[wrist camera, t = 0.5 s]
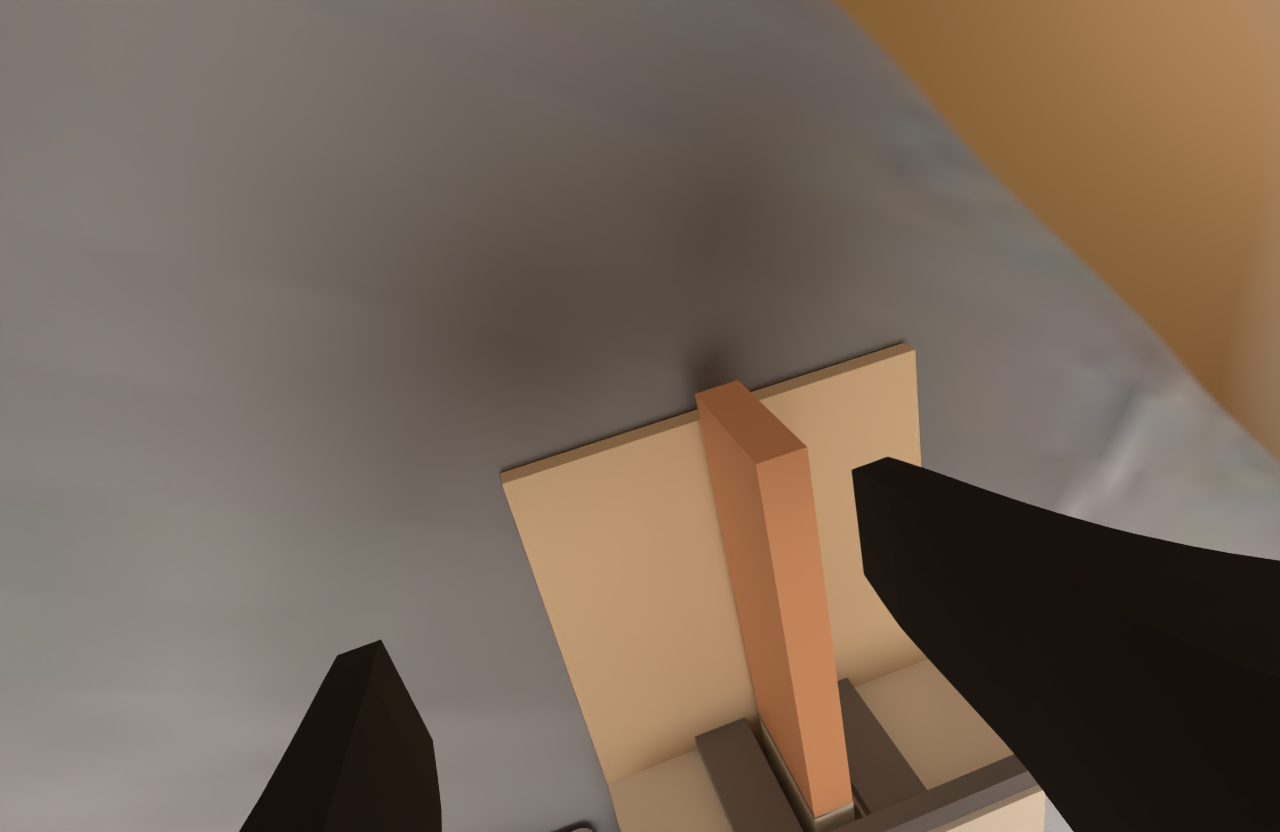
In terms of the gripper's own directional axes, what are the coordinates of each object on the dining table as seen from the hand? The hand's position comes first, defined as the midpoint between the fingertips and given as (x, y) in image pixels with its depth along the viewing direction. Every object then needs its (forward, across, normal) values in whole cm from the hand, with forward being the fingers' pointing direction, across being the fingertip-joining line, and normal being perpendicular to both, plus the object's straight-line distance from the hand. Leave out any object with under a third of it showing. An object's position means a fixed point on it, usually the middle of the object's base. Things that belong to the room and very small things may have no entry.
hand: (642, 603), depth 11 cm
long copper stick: (+9, -4, +11) cm, 15 cm away
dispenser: (+10, -4, +14) cm, 17 cm away
